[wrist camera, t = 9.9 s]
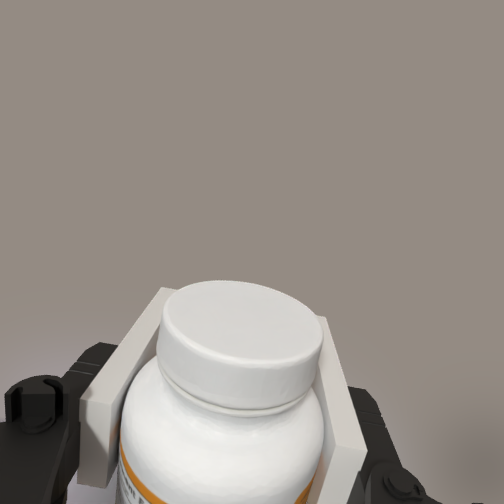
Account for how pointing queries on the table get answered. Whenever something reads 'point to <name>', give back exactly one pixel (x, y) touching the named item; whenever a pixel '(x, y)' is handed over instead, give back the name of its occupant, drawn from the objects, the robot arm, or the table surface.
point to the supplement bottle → (225, 401)
